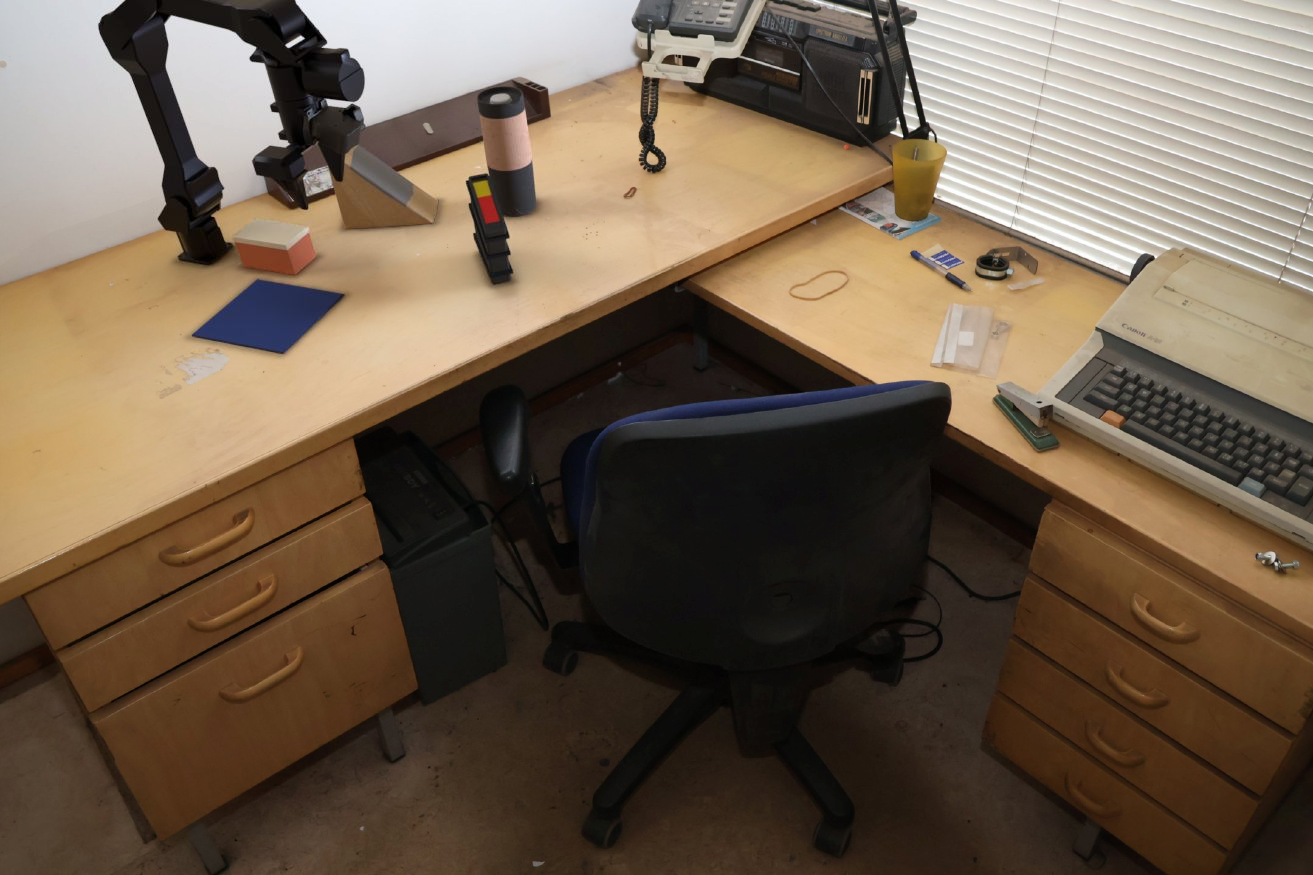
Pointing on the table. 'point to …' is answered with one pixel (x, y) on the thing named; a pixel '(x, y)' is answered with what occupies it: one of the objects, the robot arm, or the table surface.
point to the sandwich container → (379, 194)
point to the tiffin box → (275, 246)
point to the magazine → (489, 228)
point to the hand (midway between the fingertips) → (322, 195)
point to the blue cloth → (268, 316)
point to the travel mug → (508, 149)
